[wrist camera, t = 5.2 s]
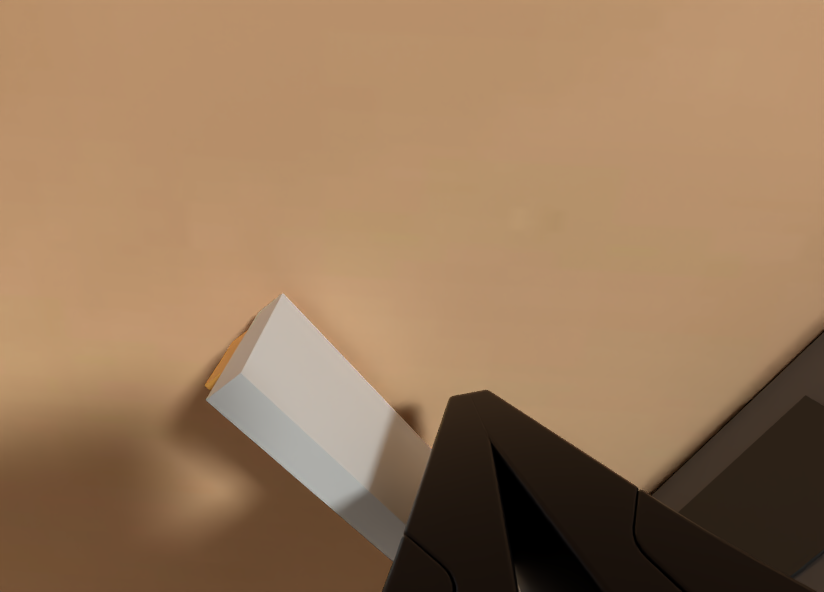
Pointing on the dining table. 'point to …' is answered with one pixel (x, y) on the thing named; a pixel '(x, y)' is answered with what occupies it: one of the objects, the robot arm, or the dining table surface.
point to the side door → (321, 422)
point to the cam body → (765, 475)
